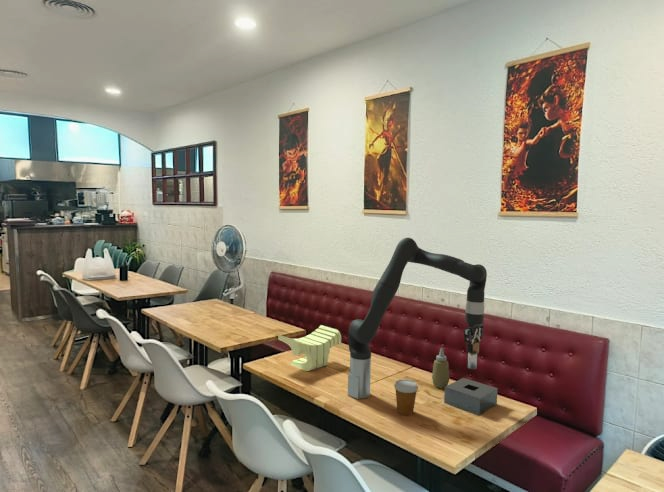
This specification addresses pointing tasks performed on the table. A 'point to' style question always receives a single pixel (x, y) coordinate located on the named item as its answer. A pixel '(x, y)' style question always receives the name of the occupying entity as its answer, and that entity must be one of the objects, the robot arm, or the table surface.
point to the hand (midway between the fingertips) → (472, 350)
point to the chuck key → (473, 356)
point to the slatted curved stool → (313, 347)
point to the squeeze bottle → (440, 371)
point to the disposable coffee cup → (405, 396)
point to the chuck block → (471, 396)
